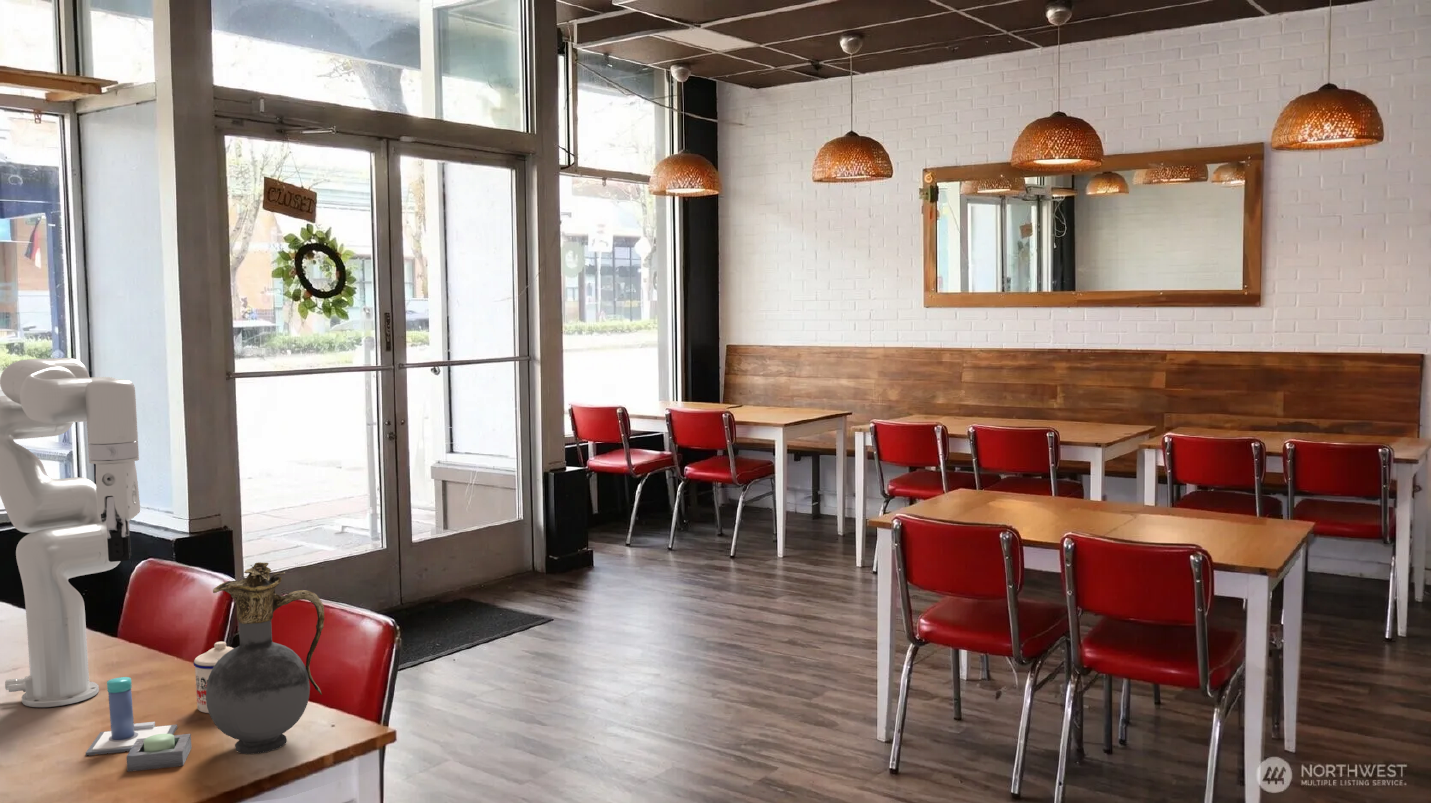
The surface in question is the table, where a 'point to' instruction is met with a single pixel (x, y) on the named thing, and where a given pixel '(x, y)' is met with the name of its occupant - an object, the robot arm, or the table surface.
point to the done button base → (159, 755)
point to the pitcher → (260, 668)
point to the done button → (159, 742)
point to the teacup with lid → (207, 671)
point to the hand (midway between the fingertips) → (120, 560)
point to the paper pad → (141, 730)
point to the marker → (121, 708)
